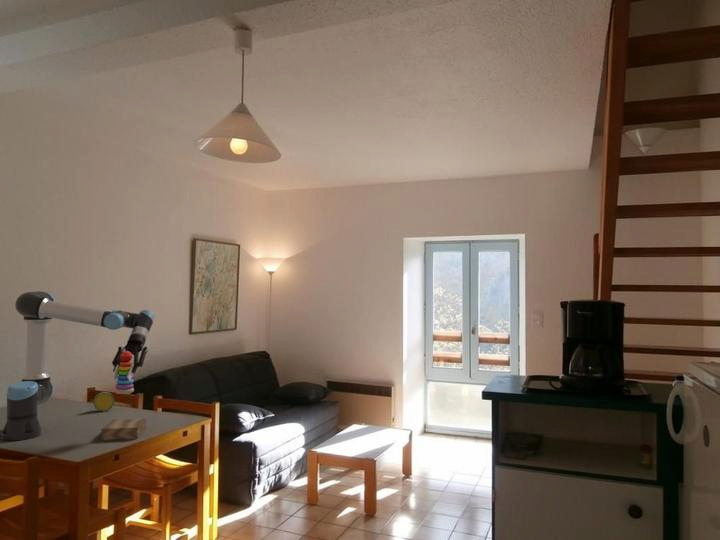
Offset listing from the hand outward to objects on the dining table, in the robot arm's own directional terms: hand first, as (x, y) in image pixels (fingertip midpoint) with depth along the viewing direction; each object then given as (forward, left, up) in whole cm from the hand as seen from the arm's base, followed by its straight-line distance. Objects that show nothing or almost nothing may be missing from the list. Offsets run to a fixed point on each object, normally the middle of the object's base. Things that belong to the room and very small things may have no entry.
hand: (121, 378), depth 234 cm
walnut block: (+1, +4, -26) cm, 26 cm away
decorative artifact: (-24, +53, -26) cm, 64 cm away
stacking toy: (0, +4, -7) cm, 8 cm away
